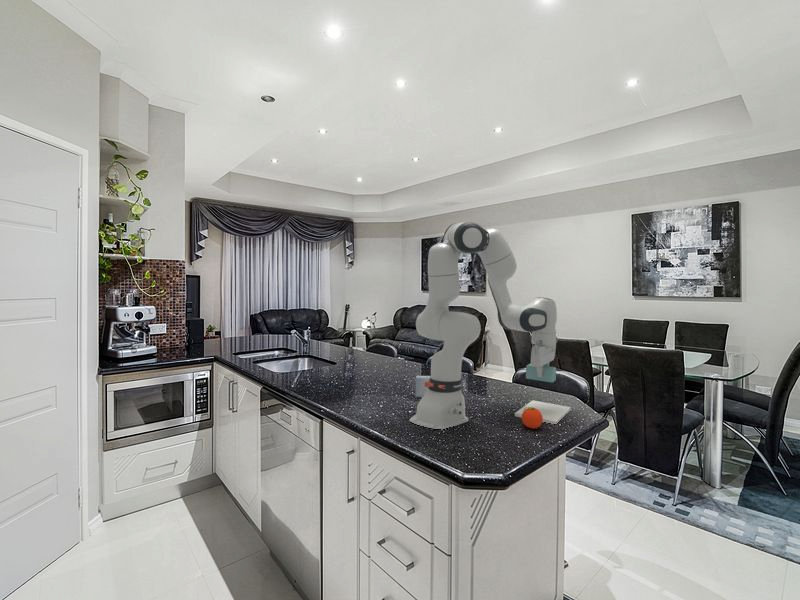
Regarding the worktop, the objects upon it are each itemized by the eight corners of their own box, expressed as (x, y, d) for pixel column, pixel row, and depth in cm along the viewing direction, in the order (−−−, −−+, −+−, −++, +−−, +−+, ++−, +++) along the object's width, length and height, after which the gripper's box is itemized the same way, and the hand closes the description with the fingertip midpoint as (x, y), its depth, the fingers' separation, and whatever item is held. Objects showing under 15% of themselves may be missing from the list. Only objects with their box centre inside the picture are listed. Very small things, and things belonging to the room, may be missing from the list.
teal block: (525, 378, 154) (552, 382, 148) (526, 365, 154) (552, 369, 148) (529, 376, 158) (555, 380, 152) (530, 363, 158) (556, 367, 152)
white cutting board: (556, 425, 139) (556, 421, 139) (514, 416, 148) (514, 413, 148) (570, 410, 157) (570, 407, 157) (532, 403, 166) (532, 400, 166)
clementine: (515, 424, 139) (515, 404, 138) (530, 422, 141) (531, 402, 141) (530, 432, 131) (531, 411, 131) (546, 430, 134) (547, 409, 134)
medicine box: (433, 395, 174) (434, 376, 174) (433, 398, 170) (434, 378, 169) (415, 394, 175) (416, 375, 174) (415, 397, 170) (415, 377, 170)
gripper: (544, 343, 142) (543, 381, 142) (558, 337, 158) (557, 371, 159) (526, 341, 145) (525, 378, 146) (542, 336, 162) (541, 369, 163)
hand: (542, 374), depth 153 cm, fingers closed on teal block, 5 cm apart
